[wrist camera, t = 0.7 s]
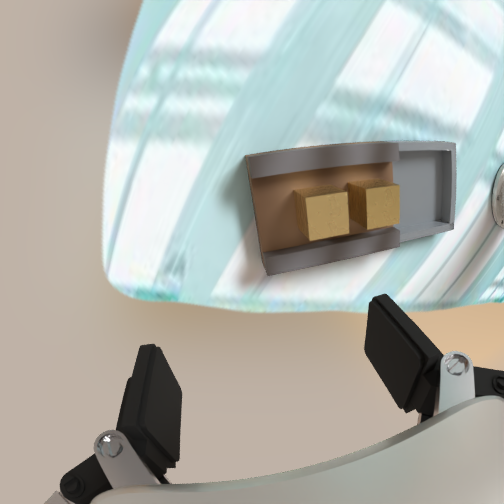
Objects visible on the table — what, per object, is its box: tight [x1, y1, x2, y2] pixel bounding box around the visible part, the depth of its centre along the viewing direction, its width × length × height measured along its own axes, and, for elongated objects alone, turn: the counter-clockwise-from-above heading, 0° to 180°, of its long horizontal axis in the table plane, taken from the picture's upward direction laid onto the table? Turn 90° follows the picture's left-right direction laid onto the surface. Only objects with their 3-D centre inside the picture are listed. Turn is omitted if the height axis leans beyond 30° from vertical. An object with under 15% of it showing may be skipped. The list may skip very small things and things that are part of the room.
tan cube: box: [348, 179, 400, 230], centre depth 26 cm, size 4×4×4 cm
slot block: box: [245, 141, 400, 276], centre depth 28 cm, size 16×12×4 cm
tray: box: [383, 141, 456, 242], centre depth 29 cm, size 11×12×2 cm
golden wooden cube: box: [294, 184, 349, 241], centre depth 26 cm, size 4×4×4 cm
